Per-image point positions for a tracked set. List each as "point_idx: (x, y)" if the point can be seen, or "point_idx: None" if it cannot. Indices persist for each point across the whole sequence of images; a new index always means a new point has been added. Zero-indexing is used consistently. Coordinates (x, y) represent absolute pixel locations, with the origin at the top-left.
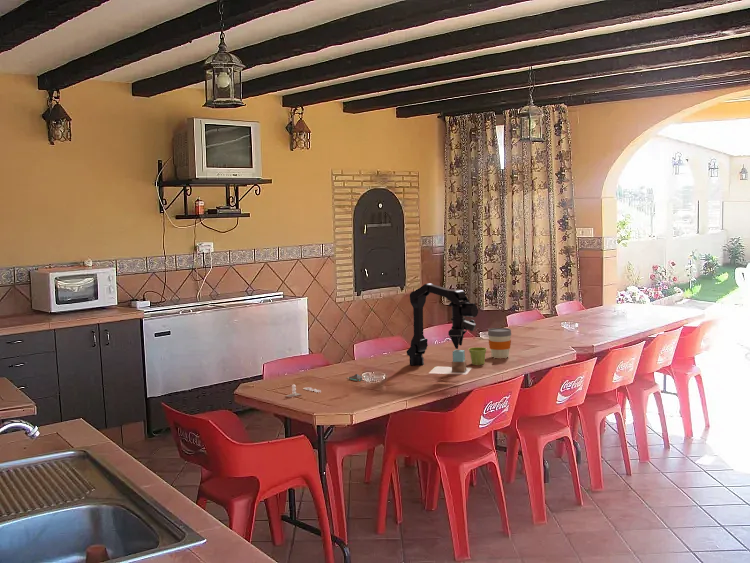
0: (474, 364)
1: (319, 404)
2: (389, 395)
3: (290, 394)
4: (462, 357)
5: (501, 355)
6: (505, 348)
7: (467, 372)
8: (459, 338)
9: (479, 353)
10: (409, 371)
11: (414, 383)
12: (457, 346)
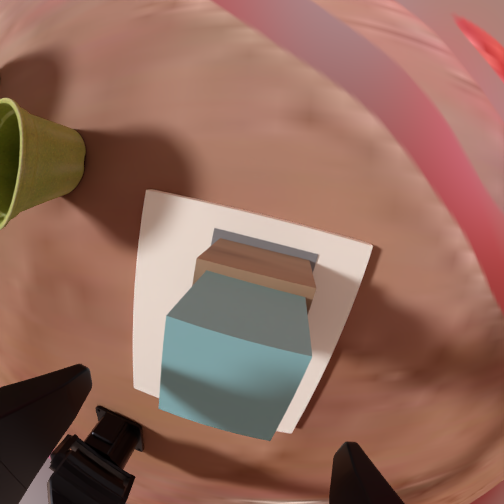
0: (74, 180)
1: (469, 497)
2: (493, 448)
3: None
4: (307, 321)
5: None
6: None
7: (310, 235)
8: (34, 440)
9: (34, 142)
10: (207, 462)
11: (418, 445)
12: (369, 469)
